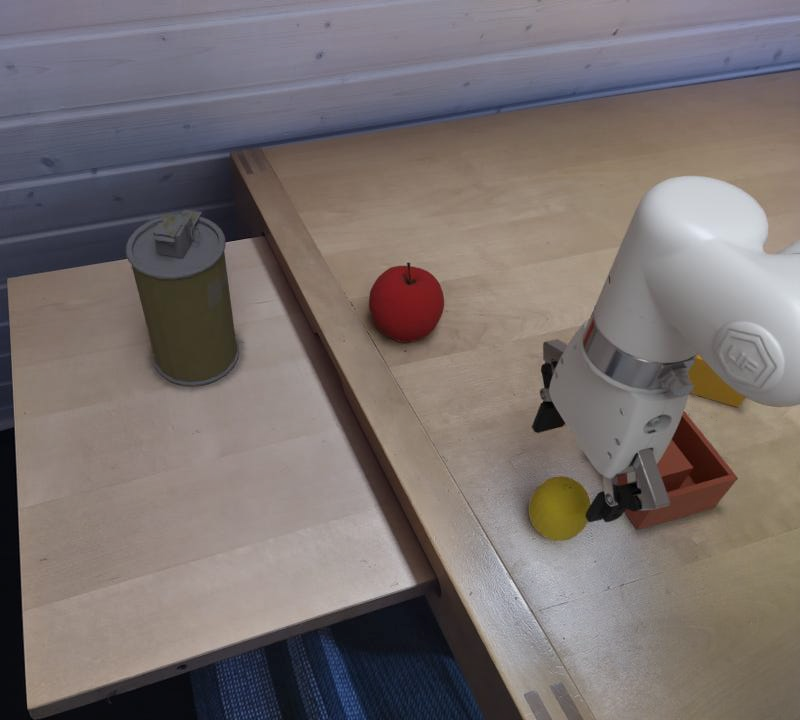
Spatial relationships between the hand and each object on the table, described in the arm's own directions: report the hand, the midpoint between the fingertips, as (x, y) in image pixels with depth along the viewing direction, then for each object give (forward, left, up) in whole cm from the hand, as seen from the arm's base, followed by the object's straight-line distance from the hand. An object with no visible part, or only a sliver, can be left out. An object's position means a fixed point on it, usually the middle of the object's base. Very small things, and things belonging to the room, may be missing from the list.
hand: (573, 469), depth 64 cm
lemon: (0, 0, -11) cm, 11 cm away
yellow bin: (+15, -28, -10) cm, 33 cm away
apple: (+31, +4, -11) cm, 33 cm away
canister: (+34, +30, -11) cm, 46 cm away
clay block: (+2, -13, -10) cm, 17 cm away
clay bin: (+2, -13, -10) cm, 17 cm away
